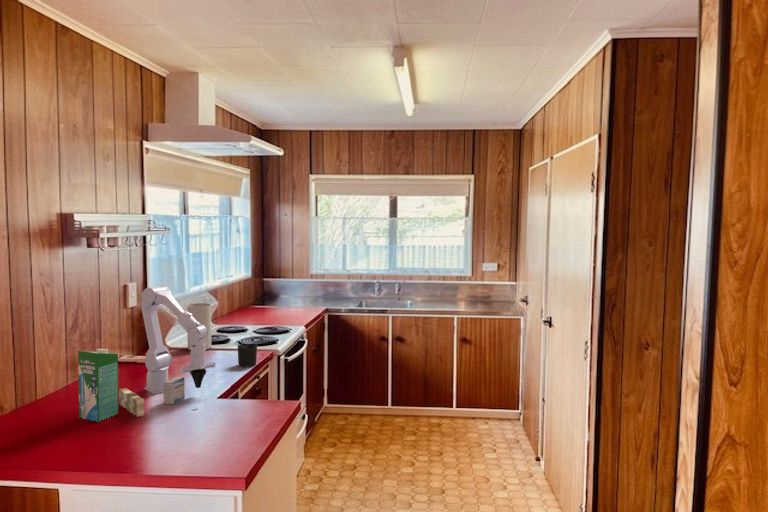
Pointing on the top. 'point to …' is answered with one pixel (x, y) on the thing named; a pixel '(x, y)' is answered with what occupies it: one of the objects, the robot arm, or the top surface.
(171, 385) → the medicine box
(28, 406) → the top surface
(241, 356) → the pen holder
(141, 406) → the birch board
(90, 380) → the milk carton
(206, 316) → the cylinder vase
